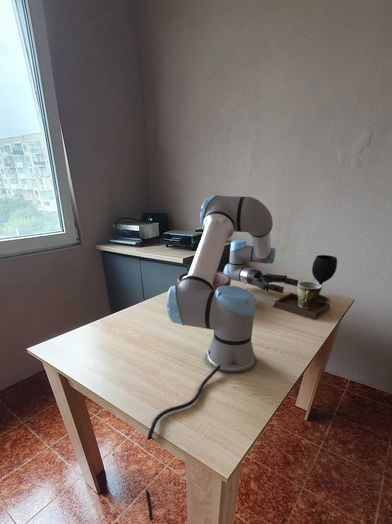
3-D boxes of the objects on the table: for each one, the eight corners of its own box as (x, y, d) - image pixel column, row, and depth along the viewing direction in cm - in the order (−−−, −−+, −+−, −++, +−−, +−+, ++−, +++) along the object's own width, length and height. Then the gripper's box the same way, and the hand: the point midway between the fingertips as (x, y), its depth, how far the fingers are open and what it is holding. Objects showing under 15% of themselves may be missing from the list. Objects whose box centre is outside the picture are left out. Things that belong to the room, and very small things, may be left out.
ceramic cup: (295, 300, 137) (299, 280, 132) (317, 304, 134) (322, 283, 129) (291, 310, 127) (296, 289, 122) (315, 314, 124) (321, 292, 118)
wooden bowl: (197, 287, 155) (197, 267, 150) (238, 297, 142) (240, 276, 137) (167, 300, 137) (166, 279, 132) (210, 313, 125) (211, 290, 120)
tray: (314, 319, 121) (316, 313, 120) (273, 307, 133) (274, 301, 131) (329, 309, 131) (330, 303, 130) (289, 298, 142) (290, 292, 141)
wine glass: (330, 297, 144) (340, 256, 134) (325, 304, 136) (336, 261, 126) (308, 293, 149) (317, 253, 138) (303, 299, 141) (312, 257, 131)
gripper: (264, 278, 154) (301, 288, 141) (235, 289, 138) (275, 301, 126) (265, 264, 150) (304, 272, 137) (237, 274, 134) (277, 284, 122)
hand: (290, 286), depth 131 cm, fingers open, 13 cm apart
